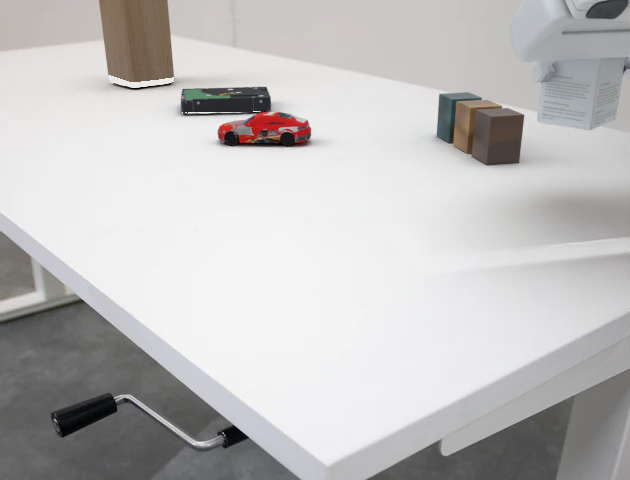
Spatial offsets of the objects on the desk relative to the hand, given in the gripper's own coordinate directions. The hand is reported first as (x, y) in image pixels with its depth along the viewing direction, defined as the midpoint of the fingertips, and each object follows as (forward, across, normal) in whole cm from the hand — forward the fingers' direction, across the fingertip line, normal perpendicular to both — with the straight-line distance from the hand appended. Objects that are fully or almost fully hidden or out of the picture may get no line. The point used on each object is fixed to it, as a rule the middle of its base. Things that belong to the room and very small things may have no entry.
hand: (580, 74), depth 77 cm
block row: (+25, 0, -7) cm, 26 cm away
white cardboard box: (+3, 0, +4) cm, 5 cm away
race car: (+33, +27, -15) cm, 45 cm away
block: (+72, +42, -54) cm, 99 cm away
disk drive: (+51, +29, -33) cm, 68 cm away
